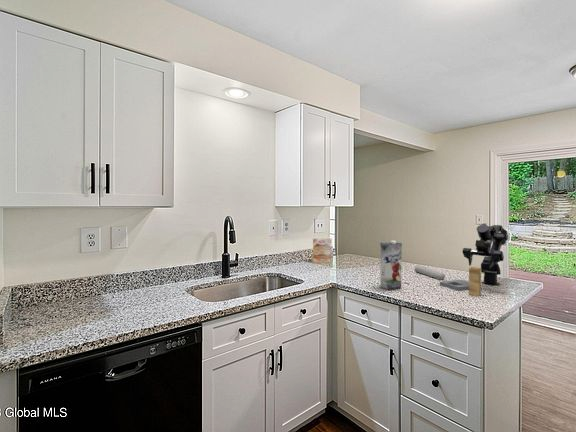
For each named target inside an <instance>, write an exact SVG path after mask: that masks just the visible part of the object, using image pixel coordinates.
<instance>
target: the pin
mask: <svg viewBox="0 0 576 432" xmlns="http://www.w3.org/2000/svg"><path fill="white" fill-rule="evenodd" d="M468 281H469V290H468V295H469V296H475V297H480V296H481V295H482V273H481V267H479V266H477V267H476V266H469V268H468Z"/></svg>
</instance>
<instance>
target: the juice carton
mask: <svg viewBox="0 0 576 432" xmlns="http://www.w3.org/2000/svg"><path fill="white" fill-rule="evenodd" d="M379 245H380V246H379V247H380V248H379V249H380V253H379V254H380V255H379V256H380V262H379V263H380V264H379V265H380V266H379V267H380V271H379V273H380V275H379V276H380V278H379V280H380V282H379V283H380V288H382V289H385V290H388V291H391V290H399V289H401V288H402V255H403V254H402V249H403V248H402V247H403V246H402V245H403V244H402V243H401V242H397V241H396V240H390V241H389V242H388V241H387V242H380V244H379Z"/></svg>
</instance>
